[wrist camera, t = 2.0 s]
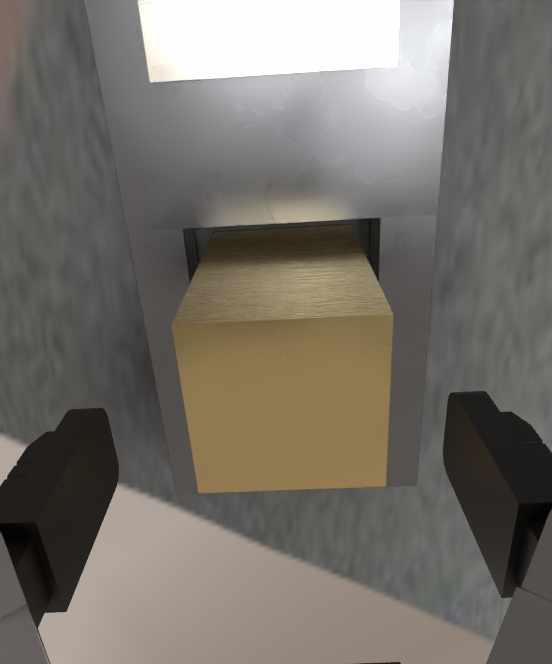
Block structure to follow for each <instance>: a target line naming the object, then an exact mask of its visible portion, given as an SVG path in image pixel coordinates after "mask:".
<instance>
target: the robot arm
mask: <svg viewBox="0 0 552 664" xmlns="http://www.w3.org/2000/svg"><path fill="white" fill-rule="evenodd" d="M443 458H444V465H445V469H446V473H447V475H448V478H449V480H450V482H451V484H452V487H453V489H454V491H455V494H456V496H457V498H458V500H459V503H460V505H461V507H462V510H463V512H464V514H465V516H466V519H467V521H468V523H469V525H470V528H471V530H472V532H473V535H474V537H475V539H476V541H477V544H478V546H479V548H480V550H481V553H482V555H483V557H484V560H485V562H486V564H487V566H488V569H489V571H490V573H491V576H492V578H493V580H494V582H495V585H496V587H497V589H498V591H499V594H500V596H501V598H509V597H512V599H511V602H510V604H509V607H508V609H507V612H506V614H505V617H504V620H503V622H502V625H501V627H500V630H499V632H498V635H497V638H496V640H495V643H494V645H493V648H492V650H491V653H490V655H489V658H488V661H487V663H486V664H552V453H551V451H550V450H549V449H548V447H547V446H546V445H545V444H543V443H542V439H541V438H540V437H539V435H538V434H537V433H536V431H535V430H534V429H533V427H532V426H531V425H530V424H529V423H527V422H526V421H524V420H523V419H521V418H520V417H518V416H517V415H515V414H514V413H512V412H500V411H499V409H498V408H497V407H496V405H495V404H494V402H493V401H492V399H491V398H490V396H489V395H488V394H487V392H485V391H474V392H453V393H451V394H450V395H449V398H448V404H447V414H446V424H445V434H444V444H443ZM118 474H119V467H118V459H117V455H116V450H115V446H114V442H113V437H112V433H111V429H110V425H109V420H108V416H107V413H106V411H105V410H104V409H103V408H91V409H71V410H69V411H68V412H67V413H66V414H65V416H64V418H63V419H62V421H61V422H60V424H59V425H58V427H57V428H56V430H55V432H46V433H44V434H43V435H42V436H41V437H39V438H38V439H37V440H35V441H34V442H33V443H32V444H30V445H29V446H28V447H27V448H26V450H25V451H24V453H23V454H22V456H21V457H20V459H19V460H18V461H17V466H14V467H13V469H12V470H11V472H10V473H9V475H8V476H7V479H6V480H4V482H3V483H2V485H1V486H0V664H50V661H49V658H48V656H47V653H46V650H45V647H44V644H43V642H42V639H41V637H40V634H39V631H38V626H39V624H40V622H41V619H42V617H43V615H44V613H50V612H66V611H67V609H68V606H69V604H70V601H71V599H72V597H73V594H74V592H75V589H76V587H77V584H78V582H79V579H80V576H81V574H82V572H83V569H84V567H85V564H86V562H87V559H88V556H89V554H90V552H91V549H92V547H93V544H94V542H95V539H96V537H97V534H98V531H99V529H100V527H101V524H102V521H103V519H104V517H105V514H106V511H107V509H108V507H109V504H110V502H111V499H112V497H113V494H114V492H115V489H116V486H117V482H118ZM362 664H401V663H400V662H393V663H392V662H391V663H362Z"/></svg>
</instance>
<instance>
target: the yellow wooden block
mask: <svg viewBox="0 0 552 664" xmlns="http://www.w3.org/2000/svg"><path fill="white" fill-rule="evenodd" d="M172 332H173V338H174V344H175V350H176V356H177V363H178V369H179V375H180V381H181V387H182V394H183V400H184V406H185V412H186V418H187V425H188V431H189V437H190V443H191V449H192V456H193V462H194V468H195V474H196V480H197V487H198V493H221V492H248V491H276V490H303V489H330V488H357V487H384V486H386V473H387V450H388V427H389V403H390V380H391V357H392V334H393V312H392V310H391V308H390V306H389V304H388V302H387V300H386V297H385V295H384V293H383V291H382V289H381V287H380V285H379V283H378V281H377V278H376V276H375V274H374V272H373V270H372V268H371V266H370V264H369V261H368V259H367V257H366V255H365V253H364V251H363V249H362V247H361V245H360V242H359V240H358V238H357V236H356V234H355V232H354V230H353V228H352V226H351V225H333V226H315V227H296V228H278V229H260V230H242V231H224V232H213V234H212V237H211V239H210V241H209V243H208V245H207V248H206V250H205V252H204V254H203V256H202V259H201V261H200V263H199V265H198V267H197V270H196V272H195V274H194V276H193V278H192V281H191V283H190V285H189V287H188V289H187V292H186V294H185V296H184V298H183V300H182V303H181V305H180V307H179V309H178V311H177V314H176V316H175V318H174V320H173V322H172Z"/></svg>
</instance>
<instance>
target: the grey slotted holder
mask: <svg viewBox="0 0 552 664" xmlns="http://www.w3.org/2000/svg"><path fill="white" fill-rule="evenodd" d="M84 2H85V7H86V13H87V18H88V24H89V29H90V34H91V40H92V45H93V50H94V56H95V61H96V66H97V72H98V77H99V83H100V88H101V93H102V99H103V104H104V109H105V115H106V120H107V126H108V131H109V136H110V142H111V147H112V152H113V158H114V163H115V168H116V174H117V179H118V185H119V190H120V195H121V201H122V206H123V211H124V217H125V222H126V227H127V233H128V238H129V244H130V249H131V254H132V260H133V265H134V270H135V276H136V281H137V287H138V292H139V297H140V303H141V308H142V313H143V319H144V324H145V329H146V335H147V340H148V346H149V351H150V356H151V362H152V367H153V372H154V378H155V383H156V388H157V394H158V399H159V405H160V410H161V415H162V421H163V426H164V431H165V437H166V442H167V447H168V453H169V458H170V464H171V469H172V474H173V480H174V485H175V490H176V495H177V494H203V493H198V487H197V480H196V474H195V468H194V462H193V456H192V449H191V443H190V437H189V431H188V425H187V418H186V412H185V406H184V400H183V394H182V387H181V381H180V375H179V369H178V363H177V356H176V350H175V344H174V338H173V332H172V322H173V320H174V318H175V316H176V314H177V311H178V309H179V307H180V305H181V303H182V300H183V298H184V296H185V294H186V292H187V289H188V287H189V285H190V283H191V281H192V278H193V276H194V274H195V272H196V270H197V267H198V258H197V250H196V243H195V235H194V228H205V227H222V226H240V225H258V224H276V223H294V222H312V221H330V220H348V219H366V218H371V232H370V266H371V268H372V270H373V272H374V274H375V276H376V278H377V281H378V283H379V285H380V287H381V289H382V291H383V293H384V295H385V297H386V300H387V302H388V304H389V306H390V308H391V310H392V312H393V334H392V357H391V380H390V403H389V427H388V450H387V473H386V486H384V487H389V486H415V485H417V477H418V464H419V451H420V438H421V424H422V411H423V398H424V385H425V372H426V359H427V346H428V333H429V320H430V306H431V293H432V280H433V267H434V254H435V241H436V228H437V215H438V202H439V188H440V175H441V162H442V149H443V136H444V123H445V110H446V97H447V84H448V70H449V57H450V44H451V31H452V18H453V5H454V0H84ZM357 488H362V487H357ZM330 489H336V488H330ZM303 490H309V489H303ZM276 491H283V490H276ZM248 492H256V491H248ZM221 493H230V492H221Z"/></svg>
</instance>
